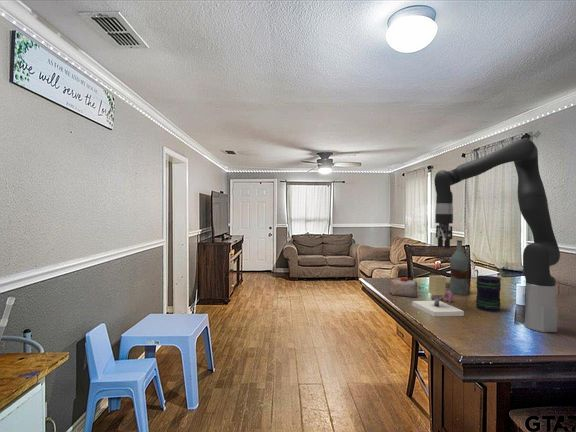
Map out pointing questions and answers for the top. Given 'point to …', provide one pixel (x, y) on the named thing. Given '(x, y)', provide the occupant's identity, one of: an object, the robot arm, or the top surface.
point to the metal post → (436, 300)
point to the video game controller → (447, 296)
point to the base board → (437, 308)
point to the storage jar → (488, 293)
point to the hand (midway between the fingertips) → (443, 247)
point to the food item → (404, 287)
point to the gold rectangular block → (437, 285)
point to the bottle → (459, 271)
